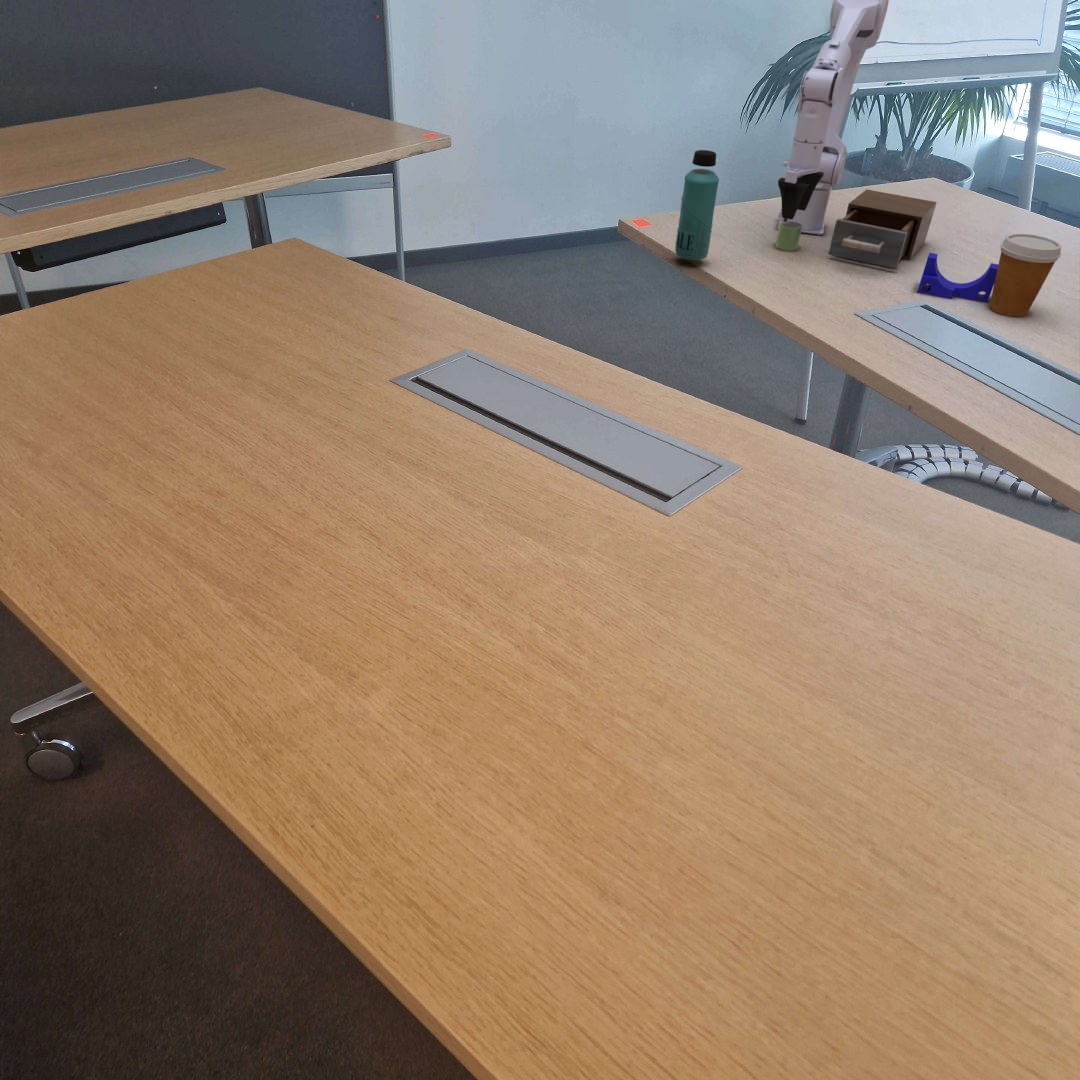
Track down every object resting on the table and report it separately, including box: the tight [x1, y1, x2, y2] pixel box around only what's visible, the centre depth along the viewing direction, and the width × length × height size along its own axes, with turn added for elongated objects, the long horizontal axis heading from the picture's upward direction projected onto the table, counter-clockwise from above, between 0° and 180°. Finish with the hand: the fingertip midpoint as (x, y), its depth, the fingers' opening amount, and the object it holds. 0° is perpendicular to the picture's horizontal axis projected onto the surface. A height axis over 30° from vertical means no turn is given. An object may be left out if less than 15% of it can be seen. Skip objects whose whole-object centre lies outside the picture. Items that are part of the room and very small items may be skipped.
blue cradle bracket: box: [916, 252, 999, 303], centre depth 159 cm, size 12×4×6 cm, turn 65°
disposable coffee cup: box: [988, 233, 1062, 317], centre depth 152 cm, size 10×10×12 cm
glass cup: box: [775, 221, 802, 252], centre depth 177 cm, size 4×4×5 cm
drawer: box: [828, 208, 917, 270], centre depth 171 cm, size 17×13×7 cm
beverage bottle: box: [674, 149, 720, 261], centre depth 163 cm, size 6×7×20 cm
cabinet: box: [845, 189, 937, 261], centre depth 180 cm, size 13×14×8 cm
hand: (793, 213), depth 174 cm, fingers open, 7 cm apart
